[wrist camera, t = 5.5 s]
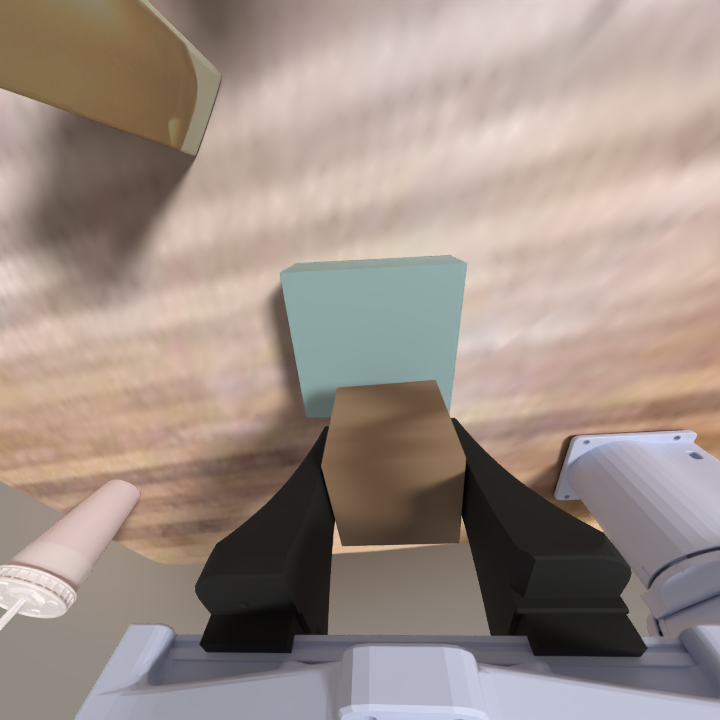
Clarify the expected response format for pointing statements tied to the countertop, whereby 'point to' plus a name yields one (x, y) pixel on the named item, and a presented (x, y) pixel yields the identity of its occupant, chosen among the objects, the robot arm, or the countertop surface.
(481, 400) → the countertop surface
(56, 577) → the smoothie
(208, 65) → the skincare box
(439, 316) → the pale teal rectangular box
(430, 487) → the walnut cube
